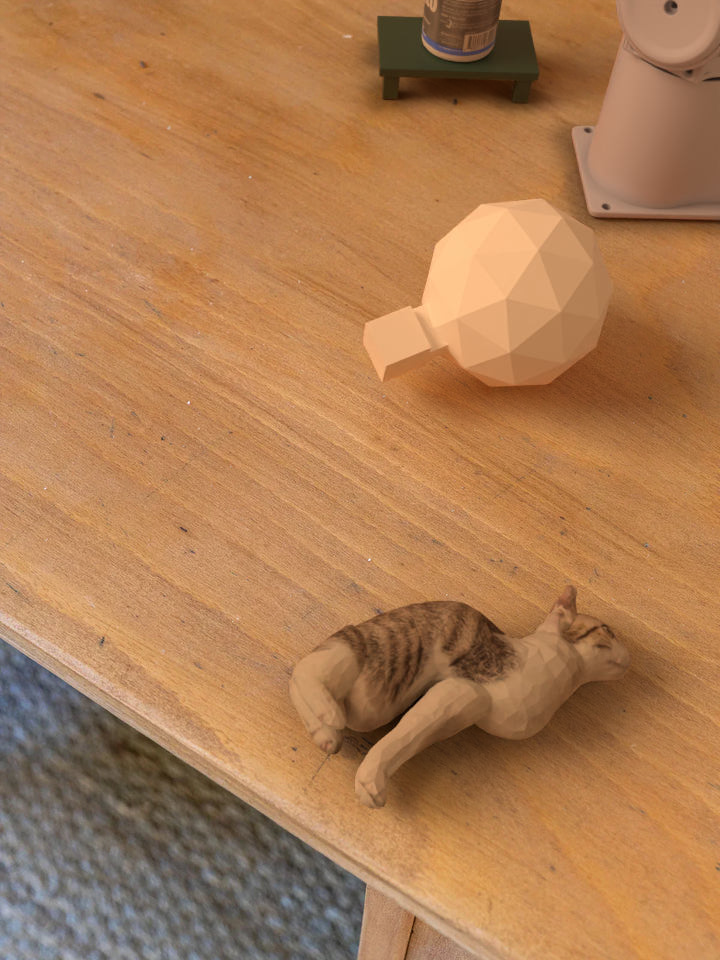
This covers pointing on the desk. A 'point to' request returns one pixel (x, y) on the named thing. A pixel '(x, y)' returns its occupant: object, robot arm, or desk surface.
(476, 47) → the pill bottle
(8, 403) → the desk surface
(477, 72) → the green footed tray
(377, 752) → the figurine
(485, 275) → the perfume bottle
